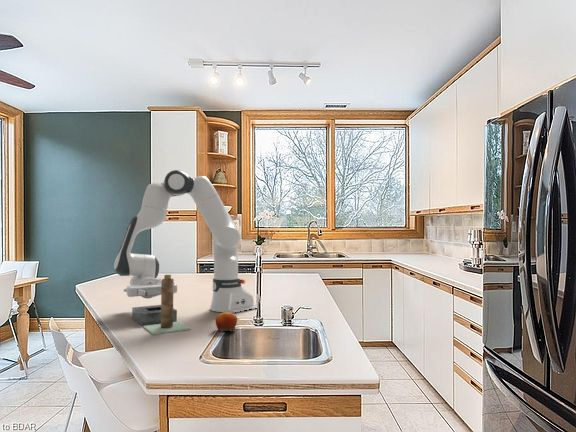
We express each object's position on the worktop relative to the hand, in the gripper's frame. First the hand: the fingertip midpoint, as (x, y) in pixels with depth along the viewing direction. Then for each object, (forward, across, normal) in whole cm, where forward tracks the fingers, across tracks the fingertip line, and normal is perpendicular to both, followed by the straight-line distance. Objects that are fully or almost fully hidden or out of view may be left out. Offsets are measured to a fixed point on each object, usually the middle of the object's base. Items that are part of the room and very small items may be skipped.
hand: (157, 292), depth 171 cm
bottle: (+12, 0, +11) cm, 16 cm away
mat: (+12, 0, +12) cm, 17 cm away
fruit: (+26, +18, +12) cm, 34 cm away
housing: (-4, 0, +12) cm, 12 cm away
